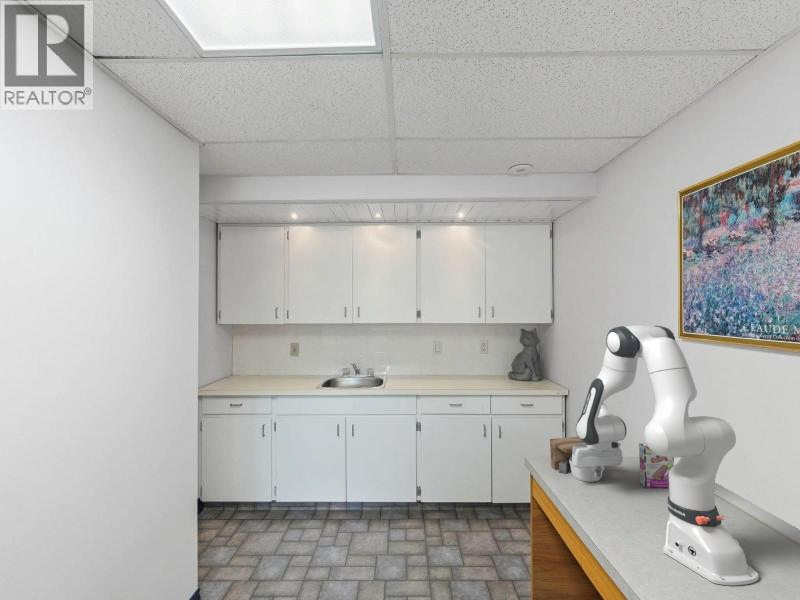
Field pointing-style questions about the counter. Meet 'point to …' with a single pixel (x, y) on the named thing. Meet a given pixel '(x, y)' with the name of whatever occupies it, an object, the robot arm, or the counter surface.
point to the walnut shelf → (562, 453)
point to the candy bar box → (654, 468)
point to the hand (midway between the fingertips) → (597, 476)
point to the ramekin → (583, 473)
